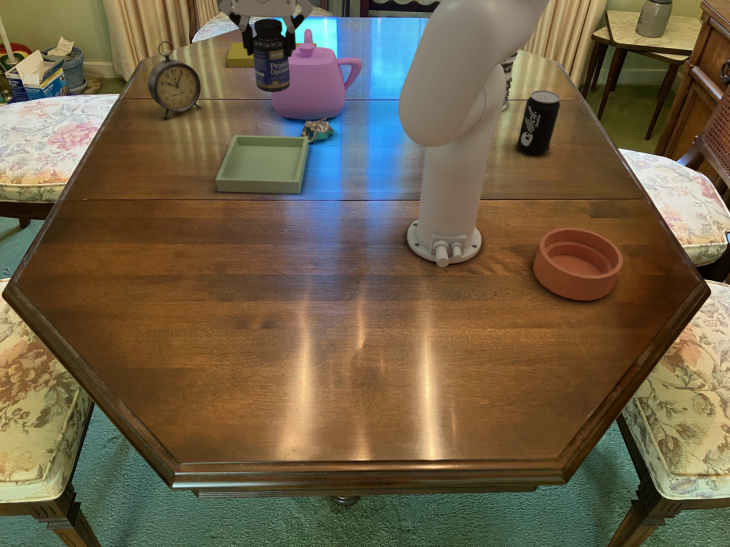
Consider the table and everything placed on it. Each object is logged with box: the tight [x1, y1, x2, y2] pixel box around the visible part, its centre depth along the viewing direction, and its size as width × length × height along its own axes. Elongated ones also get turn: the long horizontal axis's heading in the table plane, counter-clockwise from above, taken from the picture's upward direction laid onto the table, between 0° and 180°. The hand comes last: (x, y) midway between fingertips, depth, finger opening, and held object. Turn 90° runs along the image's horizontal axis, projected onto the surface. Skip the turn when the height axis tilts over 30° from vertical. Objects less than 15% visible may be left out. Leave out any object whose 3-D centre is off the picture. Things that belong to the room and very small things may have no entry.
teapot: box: [270, 28, 363, 120], centre depth 129 cm, size 23×21×15 cm
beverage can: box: [517, 89, 561, 156], centre depth 115 cm, size 7×7×12 cm
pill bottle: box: [252, 18, 290, 93], centre depth 96 cm, size 6×6×11 cm
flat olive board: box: [226, 42, 318, 68], centre depth 154 cm, size 12×2×24 cm
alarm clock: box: [147, 40, 202, 120], centre depth 124 cm, size 11×5×16 cm, turn 131°
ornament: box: [300, 118, 335, 144], centre depth 120 cm, size 8×7×4 cm
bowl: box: [532, 226, 624, 302], centre depth 87 cm, size 12×12×5 cm
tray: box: [215, 134, 310, 195], centre depth 110 cm, size 18×16×3 cm
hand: (270, 52), depth 96 cm, fingers closed on pill bottle, 6 cm apart
